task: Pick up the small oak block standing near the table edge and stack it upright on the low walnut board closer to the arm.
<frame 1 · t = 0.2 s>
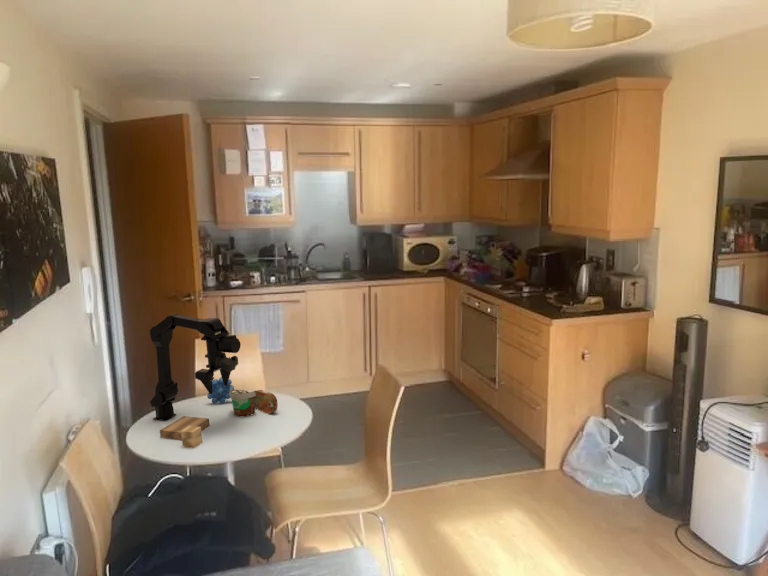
hand: (218, 389, 226), 15 cm above the table, tool pointing down, fingers open, 9 cm apart
oak block: (192, 444, 212), on the table
grapes: (222, 403, 253), on the table
food container: (241, 415, 238), on the table
tin: (265, 411, 241), on the table
walnut board: (185, 431, 224), on the table
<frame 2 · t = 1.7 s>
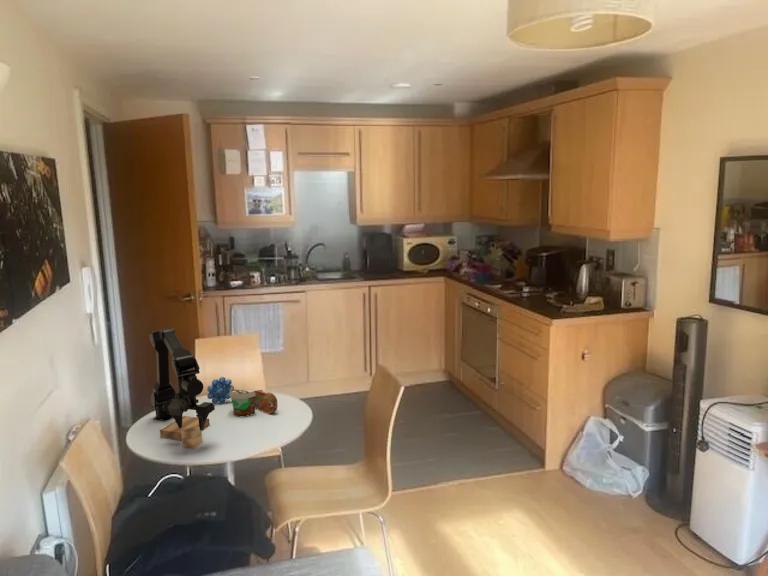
hand: (190, 429, 211), 6 cm above the table, tool pointing down, fingers open, 9 cm apart
nothing on the table moved.
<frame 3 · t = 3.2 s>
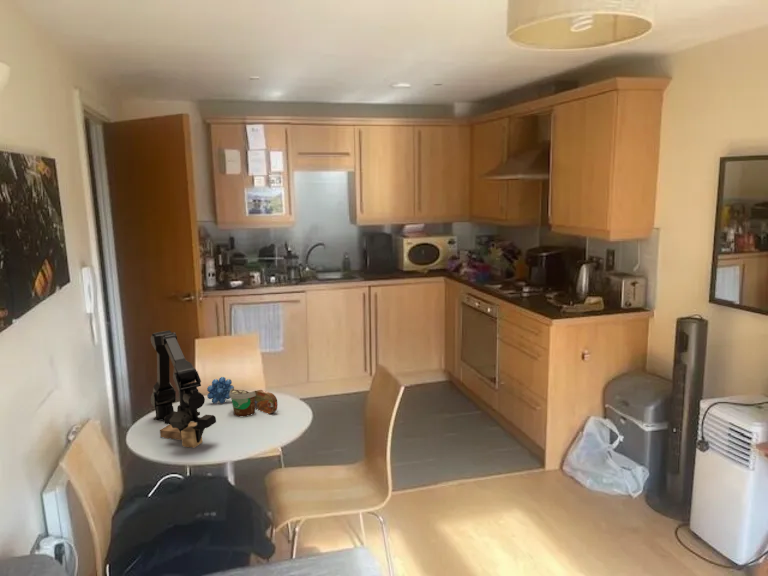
hand: (192, 441, 212), 1 cm above the table, tool pointing down, fingers closed on oak block, 5 cm apart
oak block: (192, 444, 212), on the table, touching gripper
everything else where it was.
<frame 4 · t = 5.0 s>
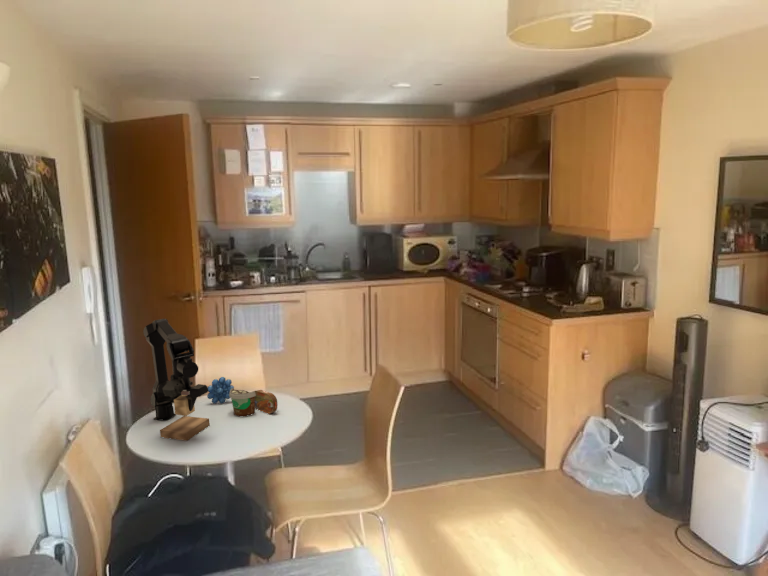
hand: (184, 410, 218), 10 cm above the table, tool pointing down, fingers closed on oak block, 5 cm apart
oak block: (185, 412, 218), point 9 cm above the table, touching gripper
everything else where it was.
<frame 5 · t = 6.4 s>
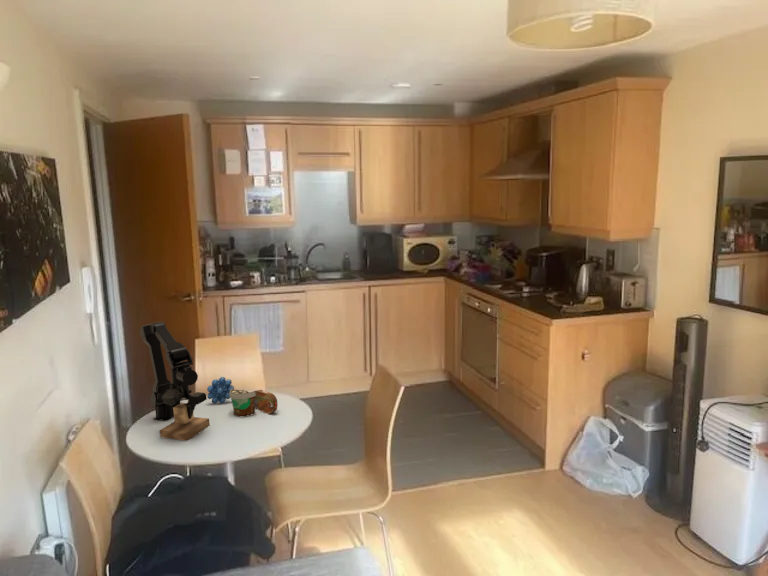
hand: (184, 417, 223), 6 cm above the table, tool pointing down, fingers closed on oak block, 5 cm apart
oak block: (184, 420, 223), point 5 cm above the table, touching gripper
everything else where it was.
when the fingers open (5 cm above the table, at t = 7.1 s): oak block drops 1 cm, resting on walnut board.
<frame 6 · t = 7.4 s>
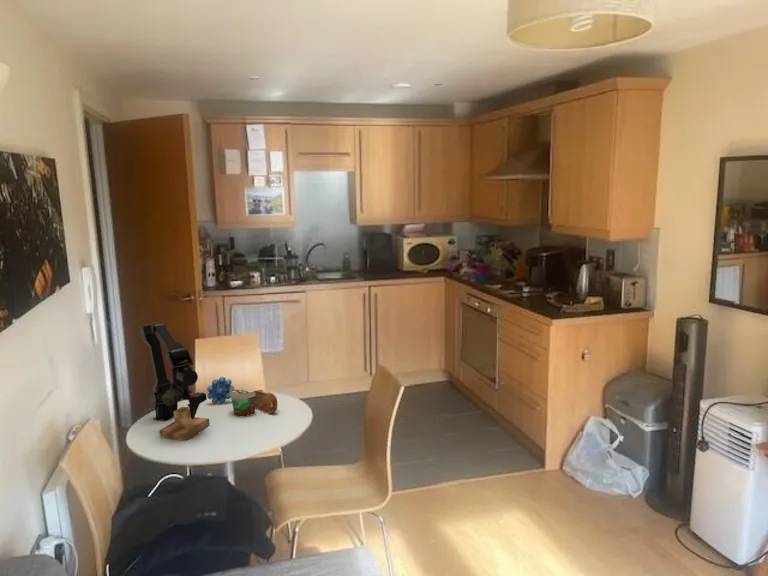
hand: (184, 418, 223), 5 cm above the table, tool pointing down, fingers open, 8 cm apart
oak block: (184, 424, 223), point 3 cm above the table, touching walnut board
everything else where it was.
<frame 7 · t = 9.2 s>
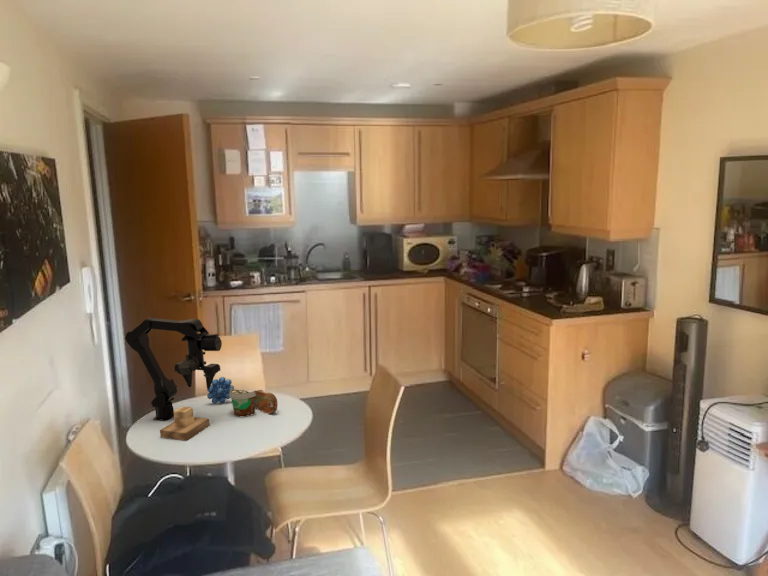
hand: (199, 387, 234), 13 cm above the table, tool pointing down, fingers open, 9 cm apart
nothing on the table moved.
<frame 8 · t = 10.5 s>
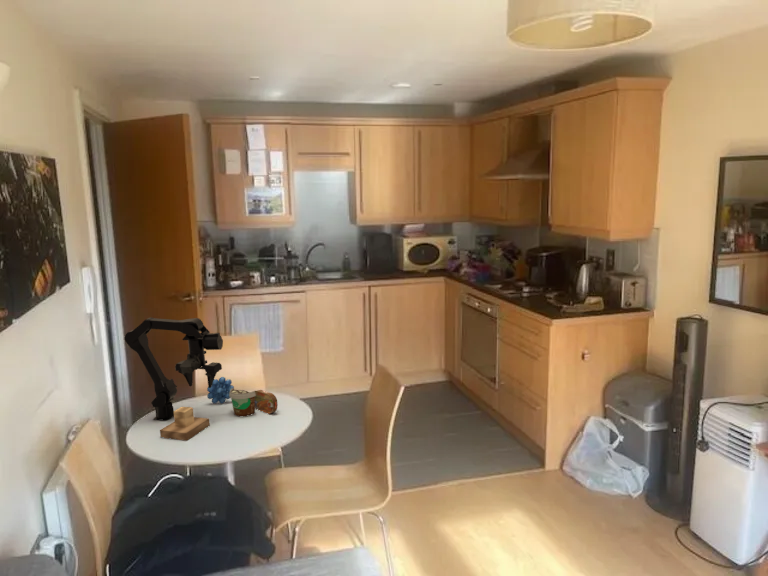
hand: (200, 387, 235), 13 cm above the table, tool pointing down, fingers open, 9 cm apart
nothing on the table moved.
at the end: oak block inside the target area on the walnut board (0.0 cm from its centre), point 3.0 cm above the walnut board's base; oak block tilted 0°; the gripper is holding nothing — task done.
